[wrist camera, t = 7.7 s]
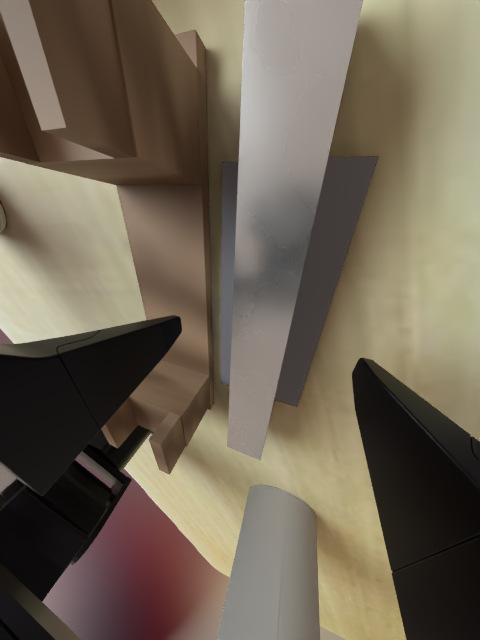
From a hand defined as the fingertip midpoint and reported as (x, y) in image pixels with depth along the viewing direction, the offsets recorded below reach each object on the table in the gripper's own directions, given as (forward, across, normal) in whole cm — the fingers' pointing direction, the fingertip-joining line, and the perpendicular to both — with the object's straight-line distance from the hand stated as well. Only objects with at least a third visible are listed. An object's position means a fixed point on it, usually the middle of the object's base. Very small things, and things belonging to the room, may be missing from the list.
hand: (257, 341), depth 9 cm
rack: (+4, +8, 0) cm, 9 cm away
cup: (+4, -5, +29) cm, 30 cm away
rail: (+4, 0, 0) cm, 4 cm away
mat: (+4, 0, 0) cm, 4 cm away
